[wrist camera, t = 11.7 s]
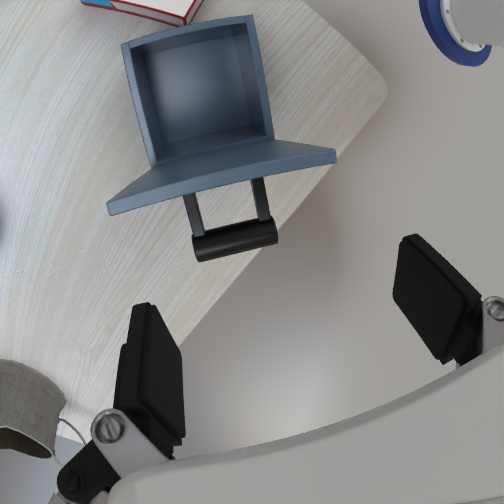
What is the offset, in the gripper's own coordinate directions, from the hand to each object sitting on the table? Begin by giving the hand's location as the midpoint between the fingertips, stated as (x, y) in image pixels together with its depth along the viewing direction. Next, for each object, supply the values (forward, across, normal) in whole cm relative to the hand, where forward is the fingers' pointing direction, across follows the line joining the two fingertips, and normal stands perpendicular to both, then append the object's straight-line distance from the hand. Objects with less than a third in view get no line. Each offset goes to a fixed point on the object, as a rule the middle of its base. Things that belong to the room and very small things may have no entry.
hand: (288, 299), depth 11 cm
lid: (+14, +1, -2) cm, 14 cm away
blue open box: (+31, +1, -7) cm, 32 cm away
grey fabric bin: (+31, +62, +46) cm, 83 cm away
